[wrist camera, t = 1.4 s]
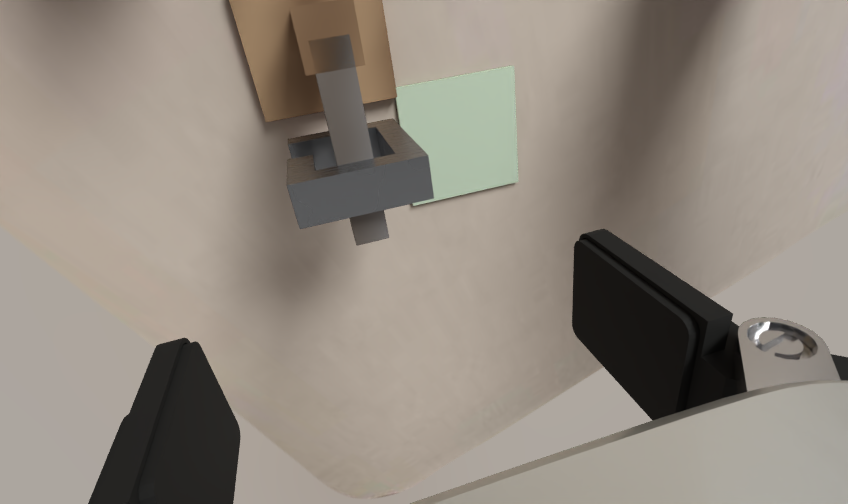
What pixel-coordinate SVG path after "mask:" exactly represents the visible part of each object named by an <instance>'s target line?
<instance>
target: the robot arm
mask: <svg viewBox="0 0 848 504" xmlns="http://www.w3.org/2000/svg"><path fill="white" fill-rule="evenodd" d="M732 316H733V314H732V313H731V312H730V311H728V310H726V309H725V308H723V307H722V306H720V305H719V304H717V303H716V302H714V301H713V300H711V299H710V298H708V297H707V296H705V295H704V294H702V293H701V292H699V291H698V290H696V289H695V288H693V287H692V286H690V285H689V284H687V283H686V282H684V281H683V280H681V279H680V278H678V277H677V276H675V275H674V274H672V273H671V272H669V271H668V270H666V269H665V268H663V267H662V266H660V265H659V264H657V263H656V262H654V261H653V260H651V259H650V258H648V257H647V256H645V255H644V254H642V253H641V252H639V251H638V250H636V249H635V248H633V247H632V246H630V245H629V244H627V243H626V242H624V241H623V240H621V239H620V238H618V237H617V236H615V235H614V234H612V233H611V232H609V231H608V230H605V229H600V230H596V231H592V232H589V233H585V234H582V235H581V236H580V238H579V241H577V242H576V243H575V246H574V275H573V312H572V326H573V330H574V333H575V335H576V336H577V338H578V339H579V340H580V341H581V342H582V343H583V344H584V345H585V346H586V348H587V349H588V350H589V351H590V352H591V353H592V354H593V355H594V356H595V357H596V359H597V360H598V361H599V362H600V363H601V364H602V365H603V366H604V367H605V369H606V370H607V371H608V372H609V373H610V374H611V375H612V376H613V377H614V378H615V380H616V381H617V382H618V383H619V384H620V385H621V386H622V387H623V388H624V389H625V391H626V392H627V393H628V394H629V395H630V396H631V397H632V398H633V399H634V400H635V402H636V403H637V404H638V405H639V406H640V407H641V408H642V409H643V410H644V411H645V412H646V414H647V415H648V416H649V417H650V418H651V419H652V420H653V421H650V422H648V423H645V424H641V425H638V426H635V427H632V428H630V429H627V430H624V431H621V432H618V433H615V434H612V435H609V436H606V437H603V438H600V439H597V440H594V441H591V442H588V443H585V444H582V445H579V446H576V447H573V448H570V449H567V450H564V451H561V452H559V453H555V454H553V455H550V456H547V457H544V458H541V459H538V460H535V461H532V462H529V463H526V464H523V465H521V466H518V467H515V468H512V469H509V470H506V471H503V472H500V473H497V474H494V475H491V476H488V477H485V478H483V479H480V480H477V481H474V482H471V483H468V484H465V485H462V486H460V487H457V488H454V489H451V490H448V491H445V492H442V493H439V494H436V495H433V496H431V497H428V498H425V499H422V500H419V501H416V502H413V503H410V504H848V357H842V356H837V355H832V354H830V352H829V349H828V347H827V345H826V343H825V342H824V341H823V339H822V338H821V337H819V336H818V335H817V334H816V333H815V332H813V331H811V330H810V329H808V328H806V327H804V326H802V325H799V324H797V323H794V322H791V321H788V320H783V319H778V318H766V317H762V318H753V319H750V320H747V321H745V322H743V323H742V324H741V325H740V326H738V325H736V324H735V323H733V322H732V321H731V320H732ZM239 446H240V430H239V425H238V423H237V420H236V419H235V416H234V415H233V412H232V410H231V408H230V406H229V404H228V402H227V400H226V398H225V396H224V394H223V391H222V389H221V387H220V385H219V383H218V381H217V379H216V377H215V375H214V373H213V371H212V369H211V367H210V365H209V363H208V361H207V358H206V356H205V354H204V352H203V350H202V348H201V346H200V345H199V343H198V342H192V343H190V341H189V340H188V339H187V338H182V339H178V340H174V341H170V342H166V343H163V344H159V345H157V346H156V348H155V350H154V353H153V355H152V358H151V360H150V363H149V365H148V368H147V370H146V373H145V375H144V378H143V380H142V383H141V385H140V388H139V390H138V393H137V395H136V398H135V400H134V403H133V406H132V408H131V410H130V413H129V414H128V415H127V416H126V417H124V419H123V421H122V423H121V425H120V427H119V430H118V432H117V435H116V437H115V439H114V442H113V444H112V447H111V449H110V452H109V454H108V456H107V459H106V461H105V464H104V466H103V469H102V471H101V474H100V476H99V479H98V481H97V483H96V486H95V489H94V491H93V493H92V496H91V498H90V501H89V503H88V504H233V500H234V491H235V482H236V473H237V464H238V455H239Z"/></svg>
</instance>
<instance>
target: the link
mask: <svg viewBox="0 0 848 504" xmlns="http://www.w3.org/2000/svg"><path fill="white" fill-rule="evenodd" d="M367 127H368V132H369V137H370V142H371V147H372V152H373V158H372V159H368V160H363V161H358V162H353V163H349V164H344V165H339V166H337V163H336V159H335V155H334V150H333V146H332V142H331V138H330V134H329V131H327V132H322V133H316V134H311V135H306V136H301V137H296V138H291V139H288V146H289V150H290V153H291V157H292V159H289V160H287V188H288V191H289V195H290V198H291V201H292V205H293V208H294V211H295V215H296V218H297V221H298V225H299V228H300V229H303V228H307V227H312V226H316V225H320V224H325V223H329V222H333V221H338V220H342V219H347V218H351V217H355V216H360V215H364V214H368V213H373V212H377V211H382V210H386V209H390V208H395V207H399V206H403V205H408V204H412V203H417V202H421V201H425V200H430V199H434V193H433V186H432V178H431V171H430V164H429V156H428V154H427V153H426V152H425V151H424V150H423V149H422V148H421V147H420V146H419V145H418V144H417V143H416V142H415V141H414V140H413V139H412V138H411V137H410V136H409V135H408V134H407V133H406V132H405V131H404V129H403V128H402V127H401V126H400V125H399V124H398V123H397V122H396V121H395V120H394V119H393V118H392V119H387V120H382V121H377V122H372V123H367Z"/></svg>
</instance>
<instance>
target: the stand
mask: <svg viewBox="0 0 848 504" xmlns="http://www.w3.org/2000/svg"><path fill="white" fill-rule="evenodd" d="M229 1H230V5H231V8H232V11H233V15H234V18H235V21H236V25H237V28H238V31H239V35H240V38H241V41H242V44H243V48H244V51H245V54H246V58H247V61H248V64H249V68H250V71H251V74H252V78H253V81H254V84H255V87H256V91H257V94H258V97H259V101H260V104H261V107H262V111H263V114H264V117H265V121H266V122H270V121H276V120H281V119H286V118H291V117H297V116H302V115H307V114H312V113H318V112H323V111H324V113H325V117H326V121H327V125H328V129H329V134H330V138H331V142H332V146H333V150H334V155H335V159H336V163H337V166H339V165H344V164H349V163H353V162H358V161H363V160H368V159H372V158H373V152H372V147H371V142H370V137H369V132H368V127H367V122H366V117H365V112H364V106H363V104H365V103H370V102H375V101H381V100H386V99H391V98H396V97H397V92H396V85H395V79H394V73H393V66H392V60H391V54H390V47H389V41H388V35H387V28H386V22H385V16H384V10H383V3H382V0H229ZM350 222H351V226H352V230H353V234H354V238H355V241H356V245H361V244H365V243H370V242H374V241H378V240H382V239H386V238H389V234H388V229H387V224H386V219H385V214H384V210H382V211H377V212H373V213H368V214H364V215H360V216H355V217H351V218H350Z"/></svg>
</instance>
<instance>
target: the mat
mask: <svg viewBox="0 0 848 504" xmlns="http://www.w3.org/2000/svg"><path fill="white" fill-rule="evenodd" d="M396 92H397V97H396V98H395V100H396V107H397V113H398V119H399V125H400V126H401V127H402V128H403V129H404V131H405V132H406V133H407V134H408V135H409V136H410V137H411V138H412V139H413V140H414V141H415V142H416V143H417V144H418V145H419V146H420V147H421V148H422V149H423V150H424V151H425V152H426V153H427V154H428V156H429V164H430V171H431V178H432V186H433V193H434V199H430V200H425V201H421V202H417V203H412V205H413V206H415V205H420V204H424V203H428V202H433V201H437V200H441V199H446V198H450V197H454V196H459V195H463V194H467V193H472V192H476V191H481V190H485V189H489V188H494V187H498V186H502V185H507V184H511V183H515V182H518V159H517V132H516V104H515V77H514V66H507V67H502V68H497V69H491V70H486V71H481V72H475V73H470V74H465V75H459V76H454V77H449V78H443V79H438V80H433V81H427V82H422V83H417V84H411V85H406V86H400V87H396Z"/></svg>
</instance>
